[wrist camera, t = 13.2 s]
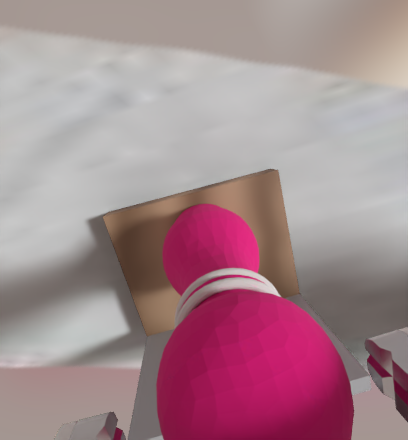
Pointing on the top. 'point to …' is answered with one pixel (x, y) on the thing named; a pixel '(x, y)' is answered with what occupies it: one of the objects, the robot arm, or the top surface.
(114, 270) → the top surface
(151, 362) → the bookend
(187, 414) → the pepper mill
